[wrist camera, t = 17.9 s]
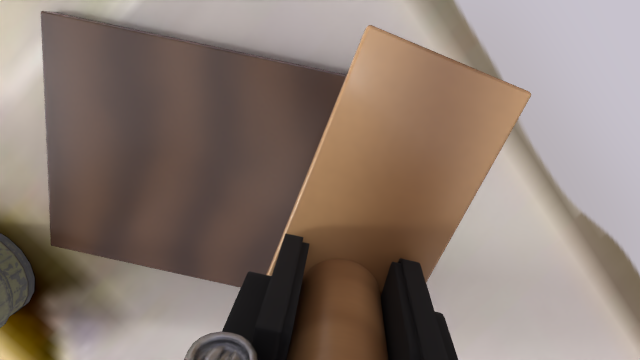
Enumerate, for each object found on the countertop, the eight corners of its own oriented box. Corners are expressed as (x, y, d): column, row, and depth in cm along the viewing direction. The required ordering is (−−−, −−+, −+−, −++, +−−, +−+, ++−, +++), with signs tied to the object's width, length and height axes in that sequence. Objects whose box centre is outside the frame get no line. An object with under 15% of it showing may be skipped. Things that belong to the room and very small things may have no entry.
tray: (59, 239, 32) (50, 245, 31) (51, 11, 26) (40, 10, 25) (343, 302, 32) (342, 310, 31) (400, 86, 26) (402, 88, 25)
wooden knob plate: (221, 383, 16) (110, 680, 9) (364, 27, 12) (395, -10, 4) (323, 420, 16) (301, 739, 9) (501, 85, 12) (770, 150, 4)
